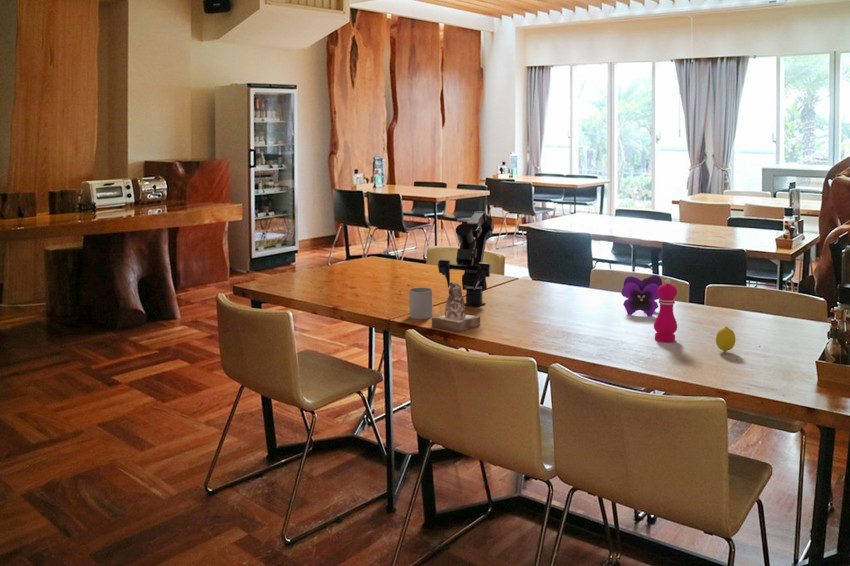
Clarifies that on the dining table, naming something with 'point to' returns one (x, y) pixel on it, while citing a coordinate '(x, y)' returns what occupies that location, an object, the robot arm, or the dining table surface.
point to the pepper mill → (666, 313)
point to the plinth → (456, 323)
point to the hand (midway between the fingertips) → (461, 288)
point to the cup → (420, 303)
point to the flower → (641, 294)
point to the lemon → (725, 339)
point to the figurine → (455, 303)
